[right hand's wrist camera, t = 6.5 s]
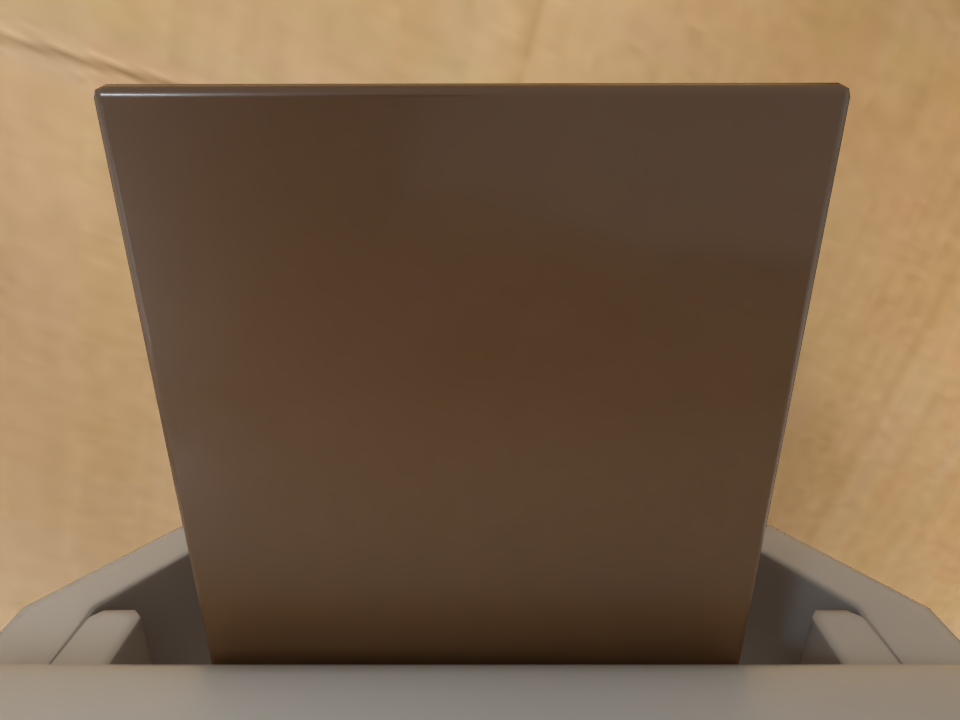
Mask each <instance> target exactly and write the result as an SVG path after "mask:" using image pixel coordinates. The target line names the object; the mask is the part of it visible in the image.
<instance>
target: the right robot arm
mask: <svg viewBox="0 0 960 720" xmlns="http://www.w3.org/2000/svg"><path fill="white" fill-rule="evenodd" d="M0 720H960V640H959V639H958V638H957V637H956V636H955V635H954V634H953V633H952V632H951V631H950V630H949V629H948V628H947V627H946V625H945V624H944V623H943V622H942V621H941V620H940V619H939V618H938V617H937V616H936V615H935V614H934V613H933V612H932V610H931V609H930V608H928V607H926V606H924V605H922V604H920V603H918V602H916V601H914V600H912V599H910V598H908V597H907V596H905V595H903V594H901V593H899V592H897V591H895V590H893V589H891V588H889V587H887V586H885V585H884V584H882V583H880V582H878V581H876V580H874V579H872V578H870V577H868V576H866V575H864V574H862V573H860V572H859V571H857V570H855V569H853V568H851V567H849V566H847V565H845V564H843V563H841V562H839V561H837V560H835V559H834V558H832V557H830V556H828V555H826V554H824V553H822V552H820V551H818V550H816V549H814V548H812V547H811V546H809V545H807V544H805V543H803V542H801V541H799V540H797V539H795V538H793V537H791V536H789V535H787V534H786V533H784V532H782V531H780V530H778V529H776V528H774V527H772V526H766V528H765V533H764V538H763V543H762V549H761V554H760V559H759V564H758V569H757V574H756V579H755V584H754V589H753V595H752V600H751V605H750V610H749V615H748V620H747V625H746V630H745V635H744V640H743V646H742V651H741V656H740V661H739V665H212V663H211V658H210V653H209V648H208V643H207V639H206V634H205V629H204V624H203V619H202V615H201V610H200V605H199V600H198V595H197V591H196V586H195V581H194V576H193V571H192V567H191V562H190V557H189V552H188V547H187V543H186V538H185V533H184V528H183V526H182V527H180V528H178V529H176V530H174V531H172V532H170V533H168V534H166V535H164V536H162V537H160V538H158V539H156V540H154V541H152V542H150V543H148V544H147V545H145V546H143V547H141V548H139V549H137V550H135V551H133V552H131V553H129V554H127V555H125V556H123V557H121V558H119V559H117V560H115V561H113V562H112V563H110V564H108V565H106V566H104V567H102V568H100V569H98V570H96V571H94V572H92V573H90V574H88V575H86V576H84V577H82V578H80V579H78V580H76V581H75V582H73V583H71V584H69V585H67V586H65V587H63V588H61V589H59V590H57V591H55V592H53V593H51V594H49V595H47V596H45V597H43V598H41V599H40V600H38V601H36V602H34V603H32V604H30V605H28V606H26V607H24V608H23V609H22V610H21V611H20V612H19V613H18V614H17V615H16V616H15V617H14V618H13V619H12V620H11V621H10V622H9V624H8V625H7V626H6V627H5V628H4V629H3V630H2V631H1V632H0Z"/></svg>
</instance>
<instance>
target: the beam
mask: <svg viewBox="0 0 960 720" xmlns="http://www.w3.org/2000/svg"><path fill="white" fill-rule="evenodd" d="M849 99H850V92H849V88H847V87H846V86H844V85H842V84H840V83H522V84H106V85H104V86H102V87H100V88H98V89H96V90H95V95H94V100H95V105H96V110H97V115H98V119H99V124H100V129H101V134H102V139H103V143H104V148H105V153H106V158H107V163H108V168H109V172H110V177H111V182H112V187H113V192H114V196H115V201H116V206H117V211H118V216H119V220H120V225H121V230H122V235H123V240H124V244H125V249H126V254H127V259H128V264H129V268H130V273H131V278H132V283H133V288H134V293H135V297H136V302H137V307H138V312H139V317H140V321H141V326H142V331H143V336H144V341H145V345H146V350H147V355H148V360H149V365H150V369H151V374H152V379H153V384H154V389H155V393H156V398H157V403H158V408H159V413H160V418H161V422H162V427H163V432H164V437H165V442H166V446H167V451H168V456H169V461H170V466H171V470H172V475H173V480H174V485H175V490H176V494H177V499H178V504H179V509H180V514H181V518H182V523H183V528H184V533H185V538H186V543H187V547H188V552H189V557H190V562H191V567H192V571H193V576H194V581H195V586H196V591H197V595H198V600H199V605H200V610H201V615H202V619H203V624H204V629H205V634H206V639H207V643H208V648H209V653H210V658H211V663H212V665H739V661H740V656H741V651H742V646H743V640H744V635H745V630H746V625H747V620H748V615H749V610H750V605H751V600H752V595H753V589H754V584H755V579H756V574H757V569H758V564H759V559H760V554H761V549H762V543H763V538H764V533H765V528H766V523H767V518H768V513H769V508H770V503H771V498H772V492H773V487H774V482H775V477H776V472H777V467H778V462H779V457H780V452H781V447H782V441H783V436H784V431H785V426H786V421H787V416H788V411H789V406H790V401H791V395H792V390H793V385H794V380H795V375H796V370H797V365H798V360H799V355H800V350H801V344H802V339H803V334H804V329H805V324H806V319H807V314H808V309H809V304H810V299H811V293H812V288H813V283H814V278H815V273H816V268H817V263H818V258H819V253H820V247H821V242H822V237H823V232H824V227H825V222H826V217H827V212H828V207H829V202H830V196H831V191H832V186H833V181H834V176H835V171H836V166H837V161H838V156H839V150H840V145H841V140H842V135H843V130H844V125H845V120H846V115H847V110H848V105H849Z"/></svg>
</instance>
